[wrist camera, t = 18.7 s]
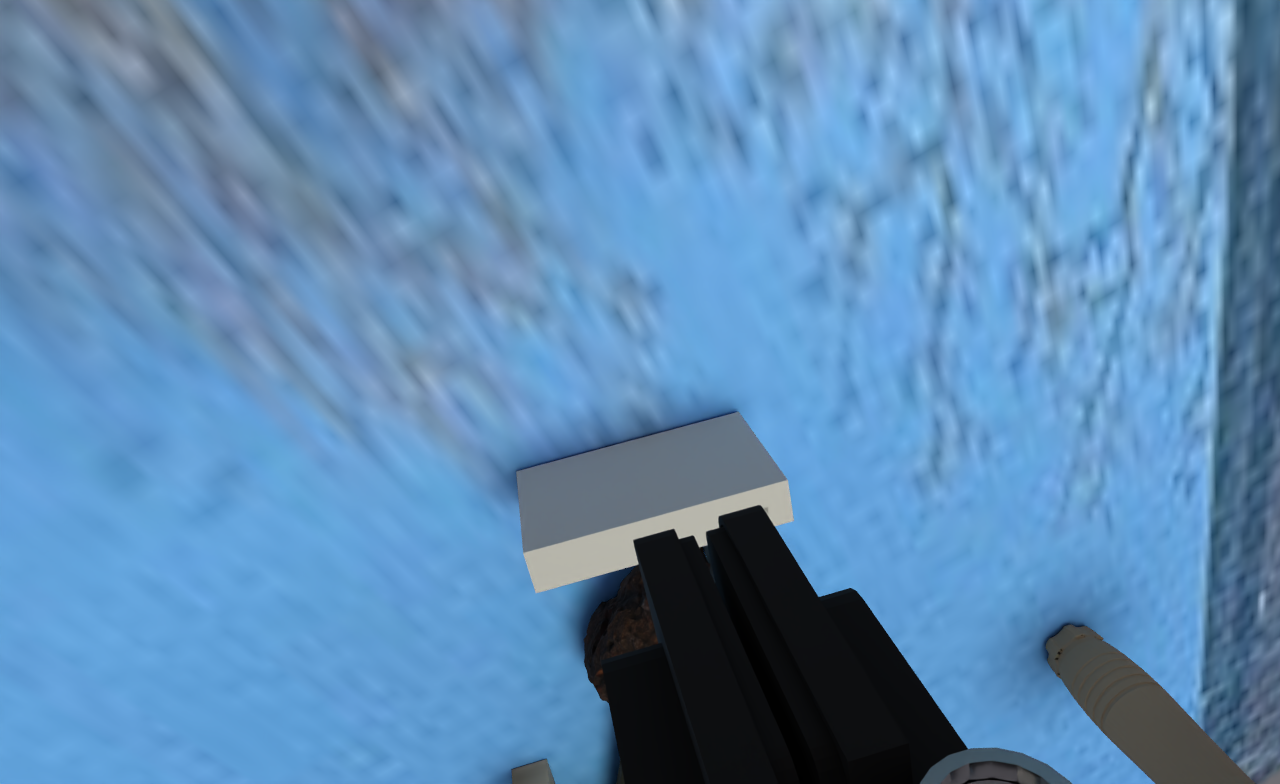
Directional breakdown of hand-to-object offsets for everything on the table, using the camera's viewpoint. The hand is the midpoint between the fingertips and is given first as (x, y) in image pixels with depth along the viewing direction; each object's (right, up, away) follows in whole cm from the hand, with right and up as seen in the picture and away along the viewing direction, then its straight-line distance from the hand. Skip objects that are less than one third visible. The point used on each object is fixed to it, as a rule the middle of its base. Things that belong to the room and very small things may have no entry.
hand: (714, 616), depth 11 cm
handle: (+25, -12, +40) cm, 48 cm away
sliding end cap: (-1, -3, +31) cm, 31 cm away
